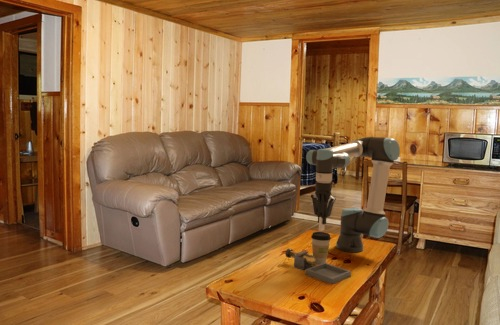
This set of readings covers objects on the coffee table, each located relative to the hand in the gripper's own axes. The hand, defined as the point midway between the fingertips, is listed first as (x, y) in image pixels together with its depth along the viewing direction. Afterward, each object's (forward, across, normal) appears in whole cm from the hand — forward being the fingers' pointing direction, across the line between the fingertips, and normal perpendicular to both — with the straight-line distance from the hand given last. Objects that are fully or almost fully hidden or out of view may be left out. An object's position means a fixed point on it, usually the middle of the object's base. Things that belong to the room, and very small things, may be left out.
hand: (321, 230), depth 195 cm
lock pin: (+17, -9, -3) cm, 20 cm away
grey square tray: (+20, +7, -3) cm, 21 cm away
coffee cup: (+20, -6, +8) cm, 23 cm away
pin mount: (+20, -7, -3) cm, 21 cm away
